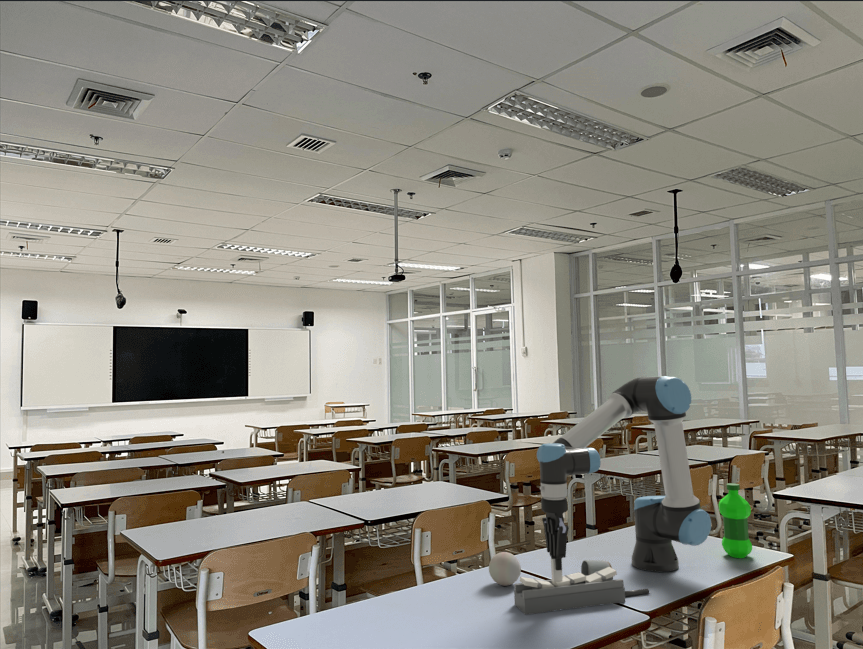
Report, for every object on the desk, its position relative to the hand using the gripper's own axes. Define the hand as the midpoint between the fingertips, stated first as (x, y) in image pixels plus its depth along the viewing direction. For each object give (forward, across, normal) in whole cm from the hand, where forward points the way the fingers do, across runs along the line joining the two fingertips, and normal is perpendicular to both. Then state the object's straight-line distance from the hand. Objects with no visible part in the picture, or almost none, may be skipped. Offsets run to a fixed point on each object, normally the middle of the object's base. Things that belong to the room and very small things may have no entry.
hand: (557, 580), depth 182 cm
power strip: (+7, 0, +9) cm, 11 cm away
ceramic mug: (+7, -13, +19) cm, 24 cm away
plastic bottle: (+7, -23, +80) cm, 83 cm away
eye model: (+7, -21, -8) cm, 24 cm away
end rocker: (0, 0, -6) cm, 6 cm away
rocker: (0, 0, +14) cm, 14 cm away
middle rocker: (0, 0, +4) cm, 4 cm away
